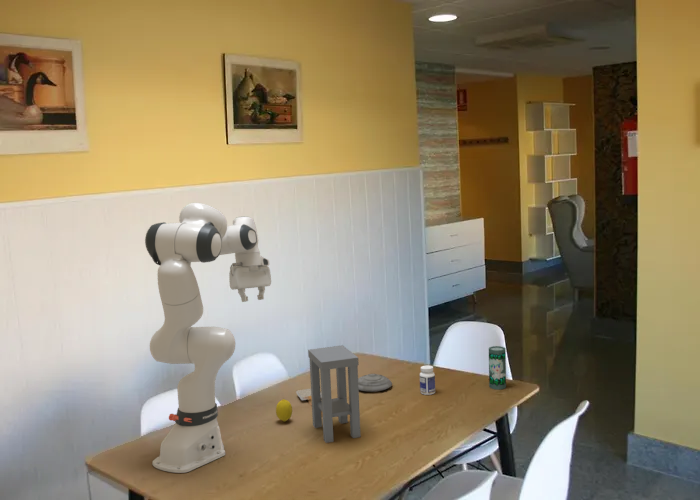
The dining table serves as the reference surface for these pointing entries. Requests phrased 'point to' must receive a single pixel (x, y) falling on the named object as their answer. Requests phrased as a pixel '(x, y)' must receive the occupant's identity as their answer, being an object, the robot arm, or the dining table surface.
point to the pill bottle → (427, 380)
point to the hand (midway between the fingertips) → (253, 300)
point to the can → (497, 367)
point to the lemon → (284, 410)
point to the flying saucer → (373, 383)
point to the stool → (338, 406)
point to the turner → (305, 395)
